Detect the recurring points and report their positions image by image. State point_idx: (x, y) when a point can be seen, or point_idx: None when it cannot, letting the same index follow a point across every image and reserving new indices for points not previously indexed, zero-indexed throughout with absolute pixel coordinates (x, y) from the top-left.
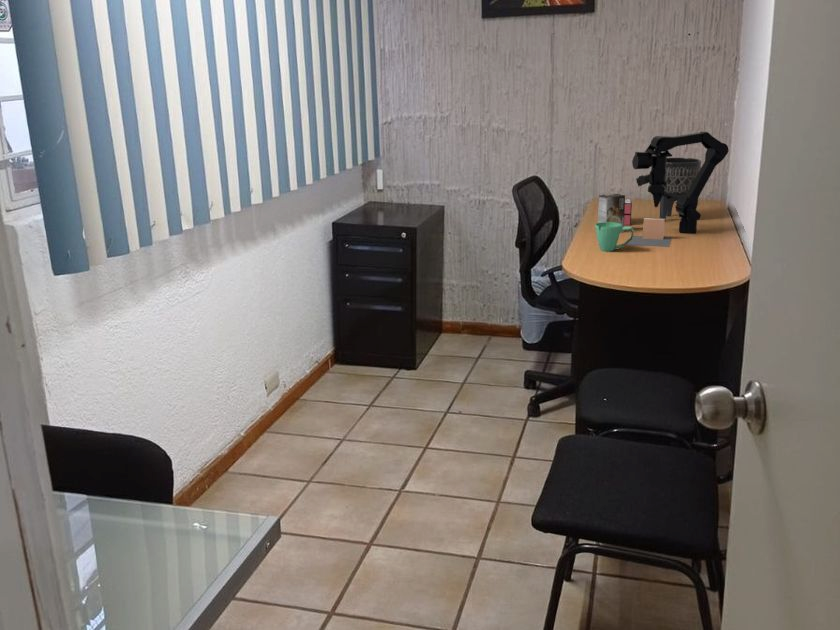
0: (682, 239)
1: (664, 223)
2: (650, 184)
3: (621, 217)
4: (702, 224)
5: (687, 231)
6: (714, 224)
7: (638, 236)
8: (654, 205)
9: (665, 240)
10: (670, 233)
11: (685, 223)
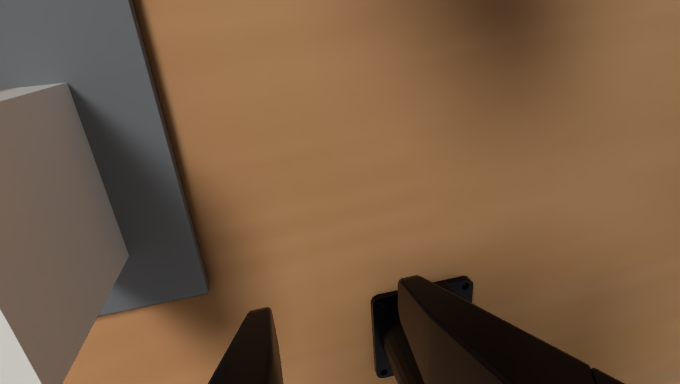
0: (219, 346)
1: (77, 353)
2: None
3: None
4: (659, 318)
5: (384, 346)
6: (655, 360)
7: (97, 24)
8: (236, 333)
9: None
10: (394, 234)
11: (409, 377)
